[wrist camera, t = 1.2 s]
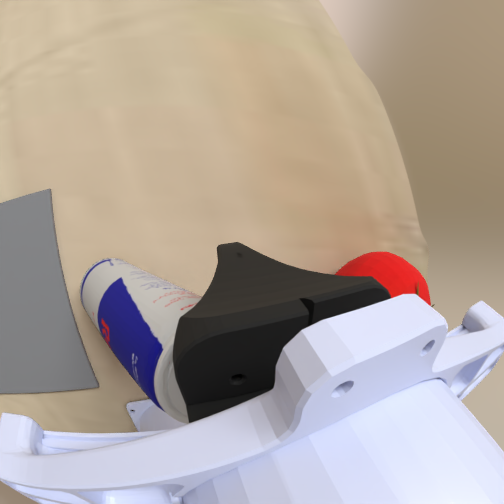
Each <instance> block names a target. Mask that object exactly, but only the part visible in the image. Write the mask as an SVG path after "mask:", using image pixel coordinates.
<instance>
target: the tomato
mask: <svg viewBox="0 0 504 504" xmlns="http://www.w3.org/2000/svg"><path fill="white" fill-rule="evenodd" d="M335 275H341V276H372V277H373V278H375V279H376V280H377V281H378V282H379V283H380V284H382V285H383V286H384V287H385V288H386V289H387V290H388V291H389V293H390V295H391V298H394V297H397V296H399V295H402V294H416V295H417V296H419V297H420V298H421V299H422V300H424V301H425V302H426V303H427V304H428V305H430V306H431V303H430V296H429V291H428V286H427V283H426V281H425V279H424V278H423V276H422V275H421V273H420V272H419V271H418V270H417V269H416V268H415V267H414V266H412V265H411V264H410V263H408V262H407V261H406V260H404V259H403V258H401V257H399V256H397V255H395V254H392V253H389V252H371V253H367V254H364V255H362V256H360V257H358V258H356V259H354V260H352V261H350V262H348V263H347V264H346V265H344V266H343V267H342V268H341V269H340V270H339V271H338V272H337V273H336V274H335ZM433 306H434V305H433ZM431 307H432V306H431Z"/></svg>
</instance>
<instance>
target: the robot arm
mask: <svg viewBox="0 0 504 504" xmlns="http://www.w3.org/2000/svg"><path fill="white" fill-rule="evenodd" d="M217 255H218V265H217V268H216V272H215V275H214V278H213V280H212V282H211V284H210V286H209V288H208V289H207V291H206V293H205V294H204V296H203V297H202V298H201V300H200V301H199V302H198V303H197V304H196V305H195V306H194V307H193V308H192V309H190V310H189V311H188V312H187V313H185V314H184V315H182V316H181V317H180V318H179V321H178V325H177V329H176V333H175V338H174V344H173V365H174V372H175V378H176V381H177V384H178V386H179V389H180V392H181V394H182V397H183V399H184V402H185V404H186V409H187V415H188V420H189V424H186V423H182V422H179V421H177V420H175V419H173V418H172V417H170V416H169V415H168V414H167V413H166V412H164V411H163V410H161V409H160V408H159V407H157V406H156V405H155V404H154V403H153V402H152V400H151V399H147V400H141V401H135V402H129V403H127V405H126V408H127V410H128V412H129V415H130V417H131V419H132V421H133V423H134V425H135V427H136V429H137V431H138V432H129V433H71V432H56V431H45V430H43V429H42V428H41V427H40V426H39V424H38V423H37V422H36V421H34V420H33V419H32V418H30V417H28V416H24V415H18V414H11V413H2V416H1V420H0V481H2V482H3V483H5V484H6V485H8V486H9V487H11V488H13V489H14V490H16V491H18V492H19V493H21V494H23V495H25V496H26V497H28V498H30V499H32V500H34V501H36V502H38V503H40V504H504V452H503V451H502V449H501V448H500V447H499V446H498V444H497V443H496V442H495V441H494V439H493V438H492V437H491V436H490V435H489V433H488V432H487V431H486V430H485V429H484V427H483V426H482V425H481V424H480V423H479V421H478V420H477V419H476V418H475V417H474V416H473V414H472V413H471V412H470V411H469V410H468V409H467V407H466V406H465V405H464V404H463V403H462V402H461V401H462V399H464V398H465V397H466V396H467V395H468V394H469V393H470V392H471V391H472V390H473V389H474V388H475V387H476V386H477V385H478V384H479V383H480V381H482V379H484V377H486V376H487V374H488V373H489V372H490V371H491V370H492V369H493V368H494V366H495V365H496V363H497V361H498V360H499V358H500V357H501V355H502V354H503V352H504V318H503V317H502V316H501V315H499V314H498V313H497V312H496V311H494V310H493V309H492V308H491V307H489V306H488V305H487V304H486V303H484V302H483V301H479V302H478V303H476V304H475V305H473V306H472V307H470V308H469V309H468V311H467V312H466V314H465V316H464V318H463V321H462V324H461V325H459V326H458V327H456V328H455V329H453V330H452V331H450V332H448V325H447V322H446V320H445V318H444V317H442V316H441V315H440V314H439V313H438V312H437V311H436V310H434V309H433V308H432V307H431V306H430V305H428V304H427V303H426V302H425V301H424V300H422V299H421V298H420V297H419V296H417V295H416V294H402V295H399V296H397V297H394V298H391V295H390V293H389V291H388V290H387V289H386V288H385V287H384V286H383V285H382V284H380V283H379V282H378V281H377V280H376V279H375V278H373V277H372V276H341V275H331V274H323V273H318V272H313V271H307V270H303V269H299V268H296V267H293V266H290V265H286V264H284V263H281V262H278V261H276V260H274V259H271V258H269V257H267V256H265V255H263V254H261V253H259V252H257V251H255V250H253V249H251V248H249V247H247V246H245V245H243V244H241V243H239V242H234V243H228V244H221V245H219V246H218V247H217ZM447 332H448V333H447ZM131 410H135V411H131Z"/></svg>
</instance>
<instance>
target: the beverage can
mask: <svg viewBox="0 0 504 504" xmlns="http://www.w3.org/2000/svg"><path fill="white" fill-rule="evenodd" d="M80 298H81V302H82V305H83V307H84V309H85V310H86V312H87V313H88V315H89V317H90V318H91V320H92V321H93V323H94V325H95V326H96V328H97V329H98V331H99V332H100V334H101V335H102V337H103V338H104V340H105V341H106V343H107V344H108V345H109V347H110V348H111V350H112V351H113V353H114V354H115V355H116V357H117V358H118V359H119V361H120V362H121V363H122V365H123V366H124V367H125V369H126V370H127V371H128V373H129V374H130V375H131V376H132V378H133V379H134V380H135V381H136V383H137V384H138V385H139V386H140V388H141V389H142V390H143V391H144V392H145V393H146V395H147V396H148V397H149V398H150V399H151V400H152V402H153V403H154V404H155V405H156V406H157V407H159V408H160V409H161V410H163V411H164V412H166V413H167V414H168V415H169V416H170V417H172V418H173V419H175V420H177V421H179V422H182V423H186V424H189V420H188V415H187V409H186V404H185V402H184V399H183V397H182V394H181V392H180V389H179V386H178V384H177V381H176V378H175V372H174V365H173V344H174V338H175V333H176V329H177V325H178V321H179V318H180V317H181V316H182V315H184V314H185V313H187V312H188V311H189V310H190V309H192V308H193V307H194V306H195V305H196V304H197V303H198V302H199V301H200V300H201V298H202V297H201V296H199V295H196V294H194V293H192V292H189V291H187V290H185V289H183V288H180V287H178V286H176V285H174V284H172V283H169V282H167V281H165V280H163V279H161V278H158V277H156V276H154V275H152V274H150V273H148V272H146V271H144V270H142V269H139V268H137V267H135V266H133V265H131V264H129V263H127V262H125V261H123V260H120V259H116V258H107V259H103V260H100V261H98V262H96V263H95V264H93V265H92V266H91V267H90V268H89V269H88V270H87V272H86V273H85V275H84V277H83V279H82V282H81V286H80Z"/></svg>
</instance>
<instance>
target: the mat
mask: <svg viewBox="0 0 504 504" xmlns="http://www.w3.org/2000/svg"><path fill="white" fill-rule="evenodd" d="M96 387H99V384H98V381H97V379H96V377H95V374H94V372H93V369H92V367H91V364H90V362H89V359H88V356H87V354H86V351H85V348H84V345H83V343H82V340H81V337H80V334H79V331H78V328H77V324H76V321H75V318H74V314H73V311H72V307H71V304H70V300H69V296H68V292H67V288H66V284H65V280H64V275H63V271H62V266H61V261H60V256H59V250H58V245H57V238H56V232H55V224H54V216H53V207H52V196H51V189H47V190H43V191H40V192H36V193H32V194H29V195H25V196H22V197H19V198H16V199H12V200H9V201H6V202H3V203H0V393H39V392H55V391H68V390H78V389H87V388H96Z"/></svg>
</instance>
